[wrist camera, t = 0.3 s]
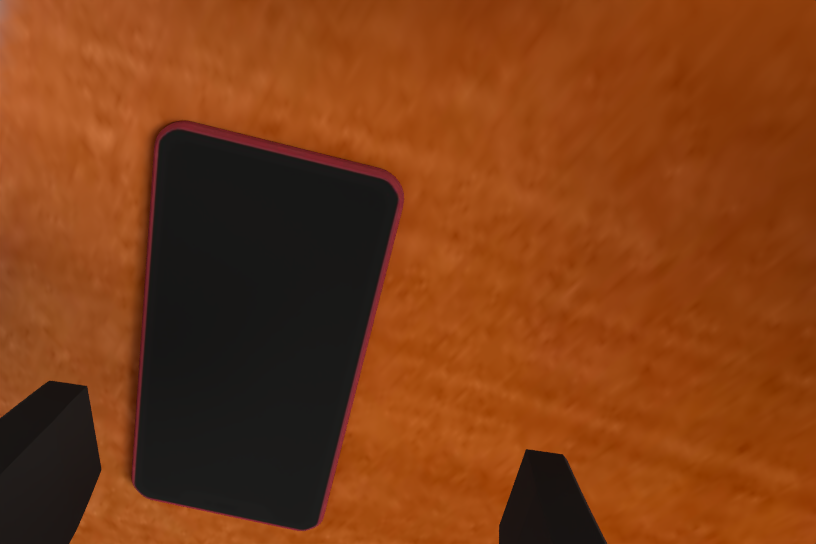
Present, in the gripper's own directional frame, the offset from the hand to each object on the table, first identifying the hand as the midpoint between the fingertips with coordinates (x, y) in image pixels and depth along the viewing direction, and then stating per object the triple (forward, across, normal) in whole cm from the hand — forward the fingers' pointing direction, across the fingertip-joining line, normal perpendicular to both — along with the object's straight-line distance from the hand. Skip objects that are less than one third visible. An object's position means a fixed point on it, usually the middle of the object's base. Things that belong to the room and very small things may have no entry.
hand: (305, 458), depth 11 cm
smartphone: (+10, +3, +7) cm, 13 cm away
